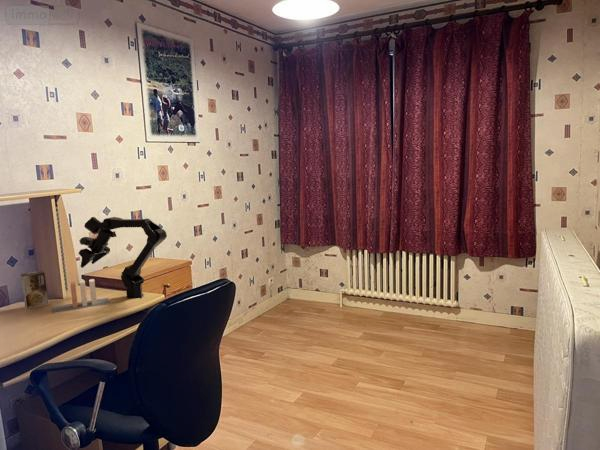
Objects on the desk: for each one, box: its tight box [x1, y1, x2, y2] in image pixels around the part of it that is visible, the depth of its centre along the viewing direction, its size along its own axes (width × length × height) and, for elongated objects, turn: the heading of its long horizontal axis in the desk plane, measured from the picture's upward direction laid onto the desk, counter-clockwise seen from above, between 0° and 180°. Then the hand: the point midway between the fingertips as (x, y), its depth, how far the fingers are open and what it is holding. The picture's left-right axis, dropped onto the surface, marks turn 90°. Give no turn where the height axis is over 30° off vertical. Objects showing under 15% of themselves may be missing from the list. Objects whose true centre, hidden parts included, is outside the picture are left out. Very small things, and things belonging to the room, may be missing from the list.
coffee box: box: [20, 270, 50, 310], centre depth 208 cm, size 9×6×16 cm
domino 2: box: [79, 279, 88, 306], centre depth 207 cm, size 2×5×11 cm, turn 29°
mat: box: [51, 297, 111, 314], centre depth 207 cm, size 24×11×1 cm, turn 119°
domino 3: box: [88, 278, 98, 305], centre depth 208 cm, size 2×5×11 cm, turn 29°
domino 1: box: [69, 281, 78, 308], centre depth 205 cm, size 2×5×11 cm, turn 29°
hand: (87, 265), depth 220 cm, fingers open, 9 cm apart
